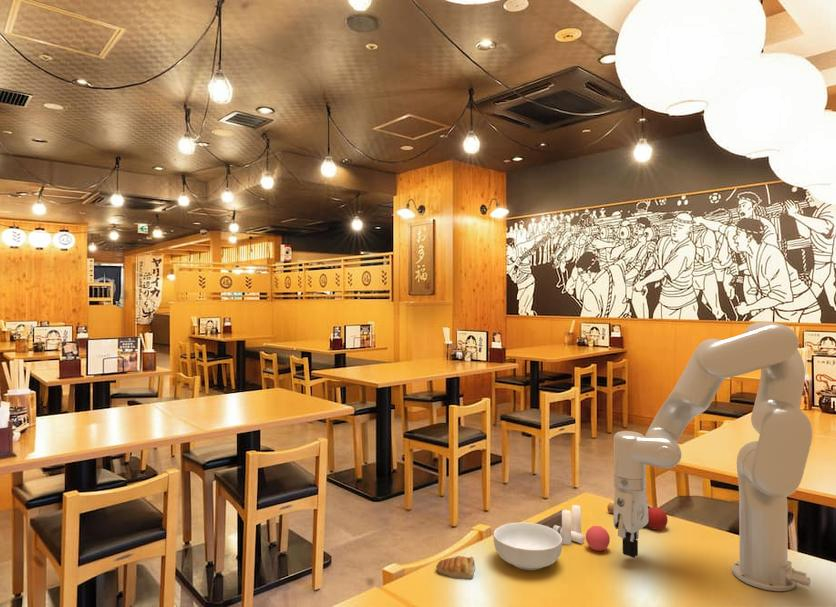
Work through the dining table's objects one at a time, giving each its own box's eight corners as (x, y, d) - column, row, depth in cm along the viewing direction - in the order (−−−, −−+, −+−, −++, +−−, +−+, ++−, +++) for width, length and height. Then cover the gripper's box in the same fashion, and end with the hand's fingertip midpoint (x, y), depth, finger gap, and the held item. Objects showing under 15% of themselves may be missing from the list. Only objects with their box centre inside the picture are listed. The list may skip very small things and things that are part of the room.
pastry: (434, 578, 129) (434, 562, 129) (437, 565, 136) (437, 549, 136) (474, 581, 128) (474, 564, 128) (475, 567, 134) (475, 551, 134)
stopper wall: (567, 524, 158) (567, 511, 158) (535, 541, 147) (535, 527, 147) (562, 523, 159) (562, 509, 159) (530, 540, 148) (530, 525, 148)
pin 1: (573, 542, 146) (572, 511, 146) (568, 545, 145) (568, 514, 145) (565, 540, 148) (564, 509, 148) (560, 542, 147) (560, 511, 147)
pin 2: (582, 537, 150) (582, 506, 150) (578, 539, 148) (577, 508, 148) (574, 534, 152) (574, 504, 152) (570, 537, 150) (570, 506, 150)
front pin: (584, 533, 147) (557, 524, 153) (580, 535, 145) (552, 525, 151) (584, 542, 147) (556, 533, 153) (579, 544, 145) (552, 534, 151)
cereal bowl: (574, 561, 136) (574, 533, 136) (540, 587, 124) (540, 557, 124) (516, 541, 148) (516, 515, 148) (480, 563, 136) (480, 535, 136)
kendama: (602, 521, 164) (658, 532, 150) (601, 499, 166) (657, 508, 151) (617, 519, 169) (673, 530, 155) (616, 498, 170) (672, 506, 156)
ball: (589, 525, 148) (599, 548, 145) (577, 532, 143) (588, 556, 141) (606, 520, 144) (618, 543, 142) (595, 527, 140) (606, 551, 138)
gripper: (630, 493, 128) (631, 570, 128) (657, 478, 139) (657, 550, 139) (601, 485, 134) (601, 559, 134) (628, 472, 144) (629, 540, 144)
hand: (630, 554), depth 136 cm, fingers closed
